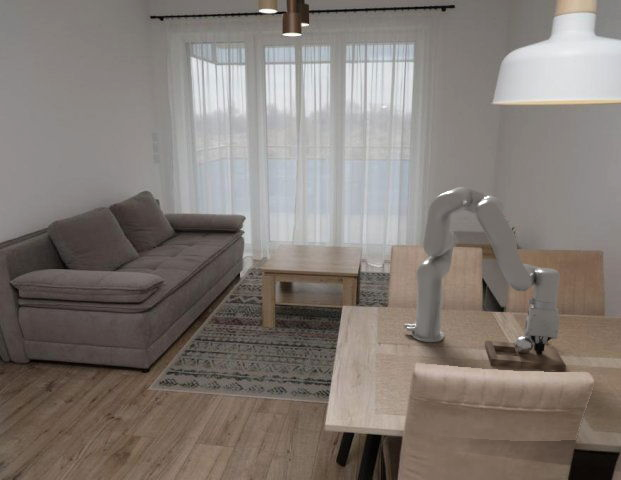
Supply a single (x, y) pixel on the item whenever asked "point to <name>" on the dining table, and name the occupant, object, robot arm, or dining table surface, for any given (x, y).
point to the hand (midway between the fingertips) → (538, 352)
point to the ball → (523, 344)
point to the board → (524, 357)
